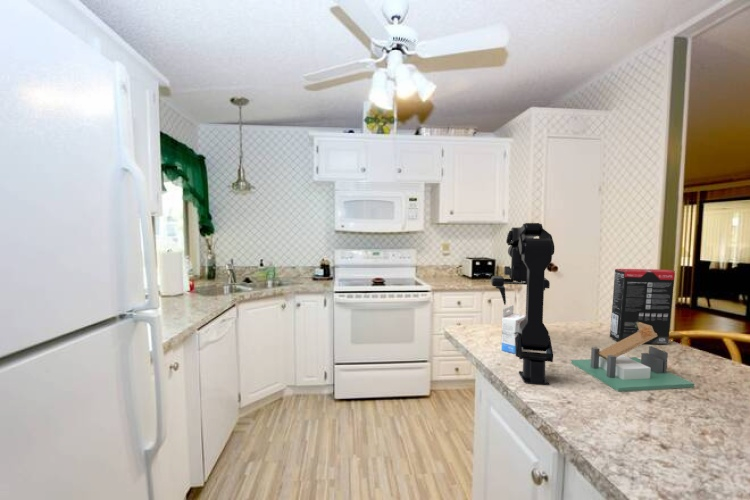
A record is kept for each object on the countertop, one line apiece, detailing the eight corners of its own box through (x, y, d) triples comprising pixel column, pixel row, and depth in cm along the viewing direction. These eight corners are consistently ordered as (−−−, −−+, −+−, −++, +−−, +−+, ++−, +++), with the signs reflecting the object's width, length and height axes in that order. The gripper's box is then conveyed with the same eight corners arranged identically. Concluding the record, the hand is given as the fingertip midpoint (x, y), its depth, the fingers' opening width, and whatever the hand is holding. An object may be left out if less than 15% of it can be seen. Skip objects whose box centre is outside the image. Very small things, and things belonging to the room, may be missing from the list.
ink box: (515, 354, 112) (516, 311, 110) (500, 350, 115) (502, 308, 114) (525, 347, 117) (526, 307, 116) (511, 344, 121) (512, 304, 120)
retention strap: (609, 361, 93) (605, 350, 93) (598, 355, 97) (594, 345, 97) (657, 336, 94) (653, 325, 94) (644, 331, 98) (640, 321, 98)
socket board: (618, 391, 86) (619, 365, 86) (571, 363, 104) (572, 341, 104) (694, 387, 89) (696, 361, 88) (635, 360, 106) (636, 338, 106)
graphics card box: (657, 339, 126) (661, 268, 124) (671, 345, 119) (676, 270, 117) (609, 337, 128) (612, 267, 125) (620, 344, 121) (624, 270, 119)
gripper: (543, 259, 123) (541, 300, 125) (490, 258, 128) (489, 298, 130) (551, 264, 112) (548, 309, 114) (493, 263, 117) (491, 306, 119)
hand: (518, 305), depth 120 cm, fingers open, 9 cm apart
